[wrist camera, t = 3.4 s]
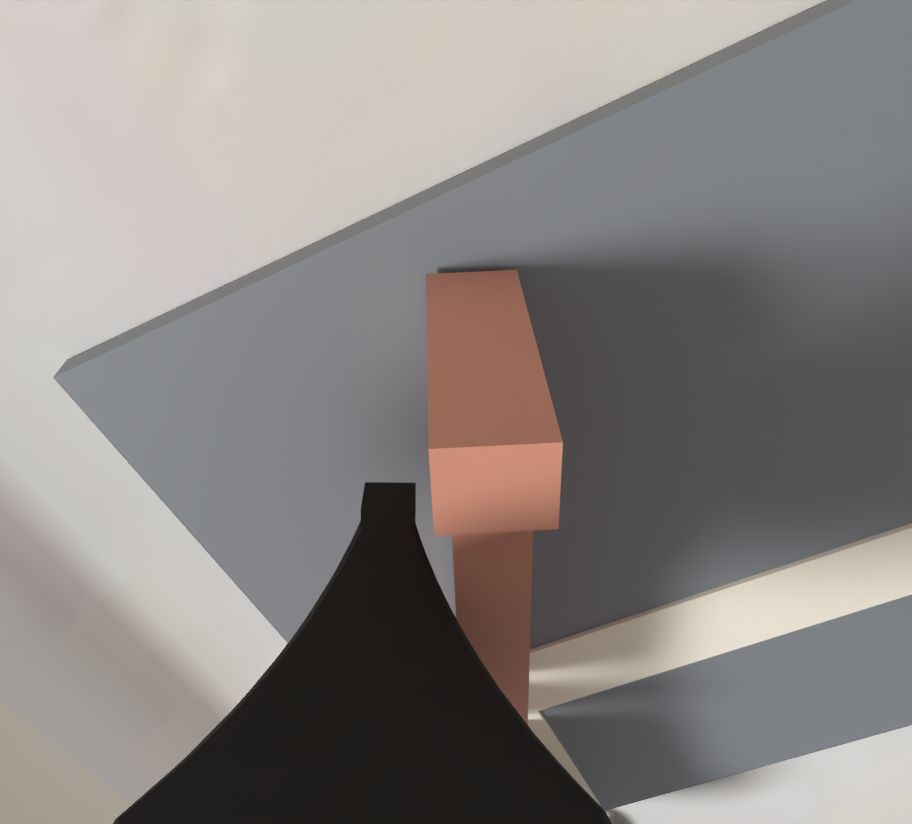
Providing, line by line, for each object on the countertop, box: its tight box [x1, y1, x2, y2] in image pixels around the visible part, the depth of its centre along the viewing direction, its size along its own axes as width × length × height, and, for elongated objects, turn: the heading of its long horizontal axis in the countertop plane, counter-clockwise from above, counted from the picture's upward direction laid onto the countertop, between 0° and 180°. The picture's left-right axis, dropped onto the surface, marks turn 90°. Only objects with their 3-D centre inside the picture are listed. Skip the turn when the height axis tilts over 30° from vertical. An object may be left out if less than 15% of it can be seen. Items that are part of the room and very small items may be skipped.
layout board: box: [53, 0, 912, 810], centre depth 16 cm, size 17×14×1 cm
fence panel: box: [426, 270, 563, 725], centre depth 13 cm, size 10×1×5 cm, turn 2°
